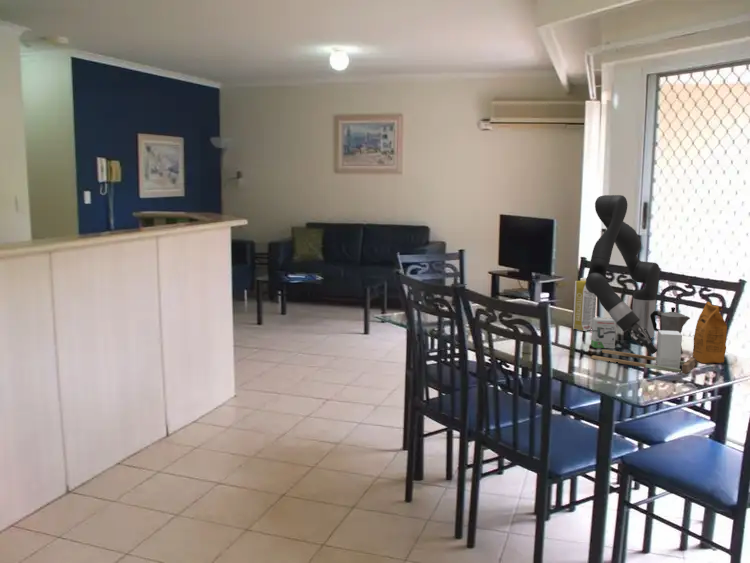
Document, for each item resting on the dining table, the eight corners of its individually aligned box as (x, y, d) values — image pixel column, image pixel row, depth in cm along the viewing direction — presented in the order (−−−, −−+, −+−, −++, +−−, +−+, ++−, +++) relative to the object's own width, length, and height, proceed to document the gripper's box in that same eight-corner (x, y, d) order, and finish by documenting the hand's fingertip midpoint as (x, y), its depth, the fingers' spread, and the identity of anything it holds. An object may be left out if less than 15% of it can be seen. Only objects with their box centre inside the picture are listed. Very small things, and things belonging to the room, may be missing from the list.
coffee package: (715, 357, 264) (720, 301, 260) (727, 365, 251) (732, 307, 248) (688, 355, 265) (692, 300, 262) (699, 364, 253) (703, 306, 250)
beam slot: (603, 351, 271) (603, 344, 270) (695, 365, 250) (695, 357, 250) (591, 358, 260) (591, 350, 260) (686, 373, 240) (686, 365, 239)
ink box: (593, 348, 277) (594, 319, 275) (590, 345, 282) (592, 317, 280) (615, 348, 276) (616, 320, 275) (611, 345, 281) (613, 317, 280)
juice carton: (582, 327, 317) (584, 276, 314) (597, 329, 311) (599, 278, 308) (570, 329, 311) (572, 278, 308) (585, 332, 305) (587, 279, 302)
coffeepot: (691, 352, 270) (694, 308, 268) (682, 356, 264) (685, 311, 261) (653, 345, 281) (655, 303, 279) (643, 349, 275) (646, 305, 272)
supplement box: (680, 369, 246) (682, 335, 244) (658, 367, 248) (660, 333, 246) (676, 363, 253) (678, 330, 251) (655, 362, 255) (657, 329, 253)
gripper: (625, 312, 250) (658, 350, 245) (636, 307, 261) (667, 343, 255) (610, 325, 254) (642, 362, 249) (621, 319, 265) (652, 355, 259)
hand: (655, 352), depth 252 cm, fingers closed
